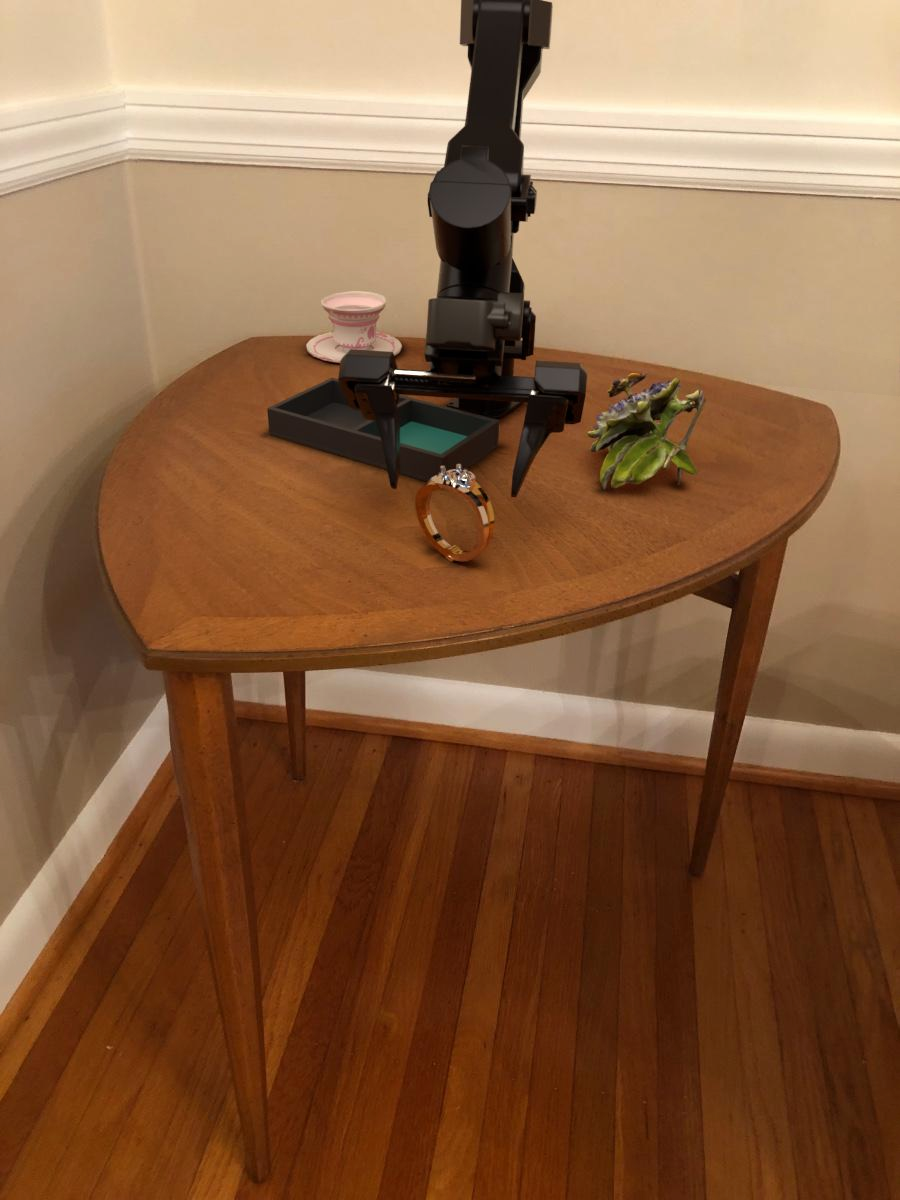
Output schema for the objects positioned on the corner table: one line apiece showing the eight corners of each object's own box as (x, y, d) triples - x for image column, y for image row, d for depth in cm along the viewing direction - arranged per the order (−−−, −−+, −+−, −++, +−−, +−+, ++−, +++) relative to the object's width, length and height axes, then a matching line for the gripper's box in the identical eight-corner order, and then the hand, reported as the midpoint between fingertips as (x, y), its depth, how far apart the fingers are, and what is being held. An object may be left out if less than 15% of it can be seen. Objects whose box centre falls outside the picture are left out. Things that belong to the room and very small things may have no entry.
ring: (498, 567, 75) (503, 477, 71) (471, 582, 73) (475, 490, 69) (435, 536, 79) (436, 449, 75) (408, 550, 77) (408, 461, 73)
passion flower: (610, 506, 96) (642, 394, 96) (707, 523, 89) (743, 402, 89) (552, 475, 87) (588, 351, 88) (656, 491, 81) (695, 357, 81)
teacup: (363, 372, 112) (361, 320, 108) (286, 352, 117) (282, 302, 114) (420, 346, 120) (421, 297, 117) (346, 328, 125) (344, 281, 122)
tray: (333, 402, 104) (332, 377, 102) (498, 446, 95) (499, 419, 93) (269, 434, 96) (266, 408, 94) (442, 486, 87) (442, 457, 86)
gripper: (338, 239, 67) (310, 444, 64) (599, 252, 66) (584, 463, 63) (361, 317, 78) (339, 495, 75) (587, 330, 77) (573, 512, 74)
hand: (453, 491), depth 71 cm, fingers open, 9 cm apart
